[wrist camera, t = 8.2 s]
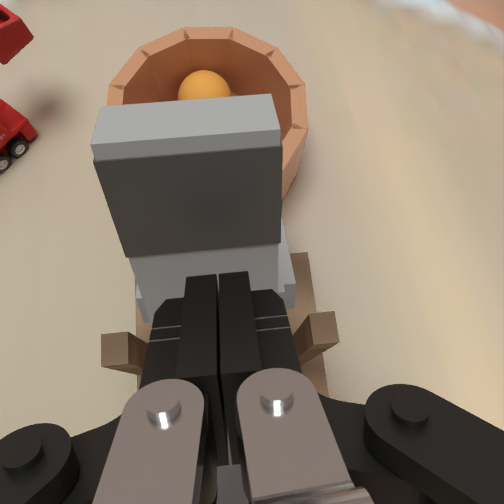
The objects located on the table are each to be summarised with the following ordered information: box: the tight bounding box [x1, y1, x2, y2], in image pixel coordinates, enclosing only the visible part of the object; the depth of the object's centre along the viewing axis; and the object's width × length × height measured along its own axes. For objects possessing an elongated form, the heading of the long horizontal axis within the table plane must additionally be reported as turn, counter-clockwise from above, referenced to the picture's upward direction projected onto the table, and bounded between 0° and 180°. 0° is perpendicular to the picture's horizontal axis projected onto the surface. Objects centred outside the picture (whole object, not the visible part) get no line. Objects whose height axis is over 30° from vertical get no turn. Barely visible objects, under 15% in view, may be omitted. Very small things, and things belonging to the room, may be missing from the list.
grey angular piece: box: [90, 94, 296, 504], centre depth 16 cm, size 18×6×13 cm, turn 5°
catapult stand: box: [101, 252, 339, 398], centre depth 24 cm, size 14×12×14 cm
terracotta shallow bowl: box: [107, 27, 308, 200], centre depth 32 cm, size 13×13×6 cm
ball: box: [178, 70, 231, 101], centre depth 34 cm, size 4×4×4 cm
